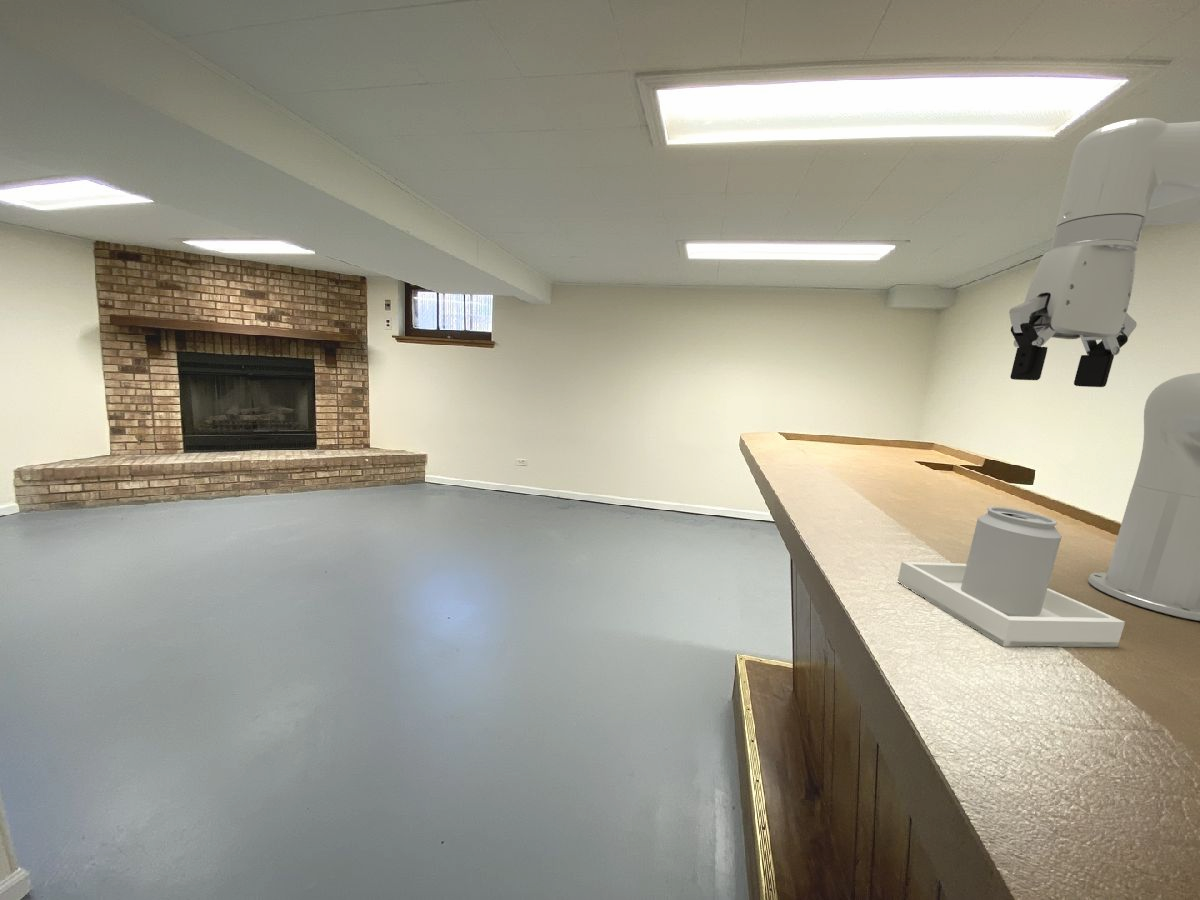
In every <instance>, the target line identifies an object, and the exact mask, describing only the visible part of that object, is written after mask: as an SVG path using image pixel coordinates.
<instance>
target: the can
mask: <svg viewBox="0 0 1200 900" xmlns="http://www.w3.org/2000/svg"><path fill="white" fill-rule="evenodd" d="M986 510H987V513H985V514H982V515H981V516H979V517H977V520H976V523H975V524H976V525H975V528H974V533H973V536H972V541H971V545H970V549H969V553H968V557H967V562H966V564H967V565H966V569H965V573H964V577H963V581H962V586H961V591H962V592H964V593H966V594H968V595H970V596H972V597H974V598H976V599H977V600H979V601H981V602H983V603H985V604H987V605H989V606H990V607H992V608H994V609H996V610H998V611H1000V612H1002V613H1004V614H1005V615H1007V616H1021V617H1033V616H1038V615H1039V614H1040V613H1041V610H1042V606H1043V602H1044V599H1045V595H1046V592H1047V588H1049V584H1050V580H1051V578H1052V573H1053V570H1054V566H1055V562H1056V559H1057V555H1058V552H1059V548H1060V545H1061V544H1060V543H1061V540H1062V534H1061V533H1060V532H1059V531H1058V529H1057V528H1056V525H1058V522H1057V521H1056V520H1055V519H1054V518H1051V517H1048V516H1045V515H1042V514H1038V513H1035V512H1031V511H1026V510H1022V509H1021V510H1020V509H1017V508H1016V509H1015V508H1010V507H1003V506H1002V507H1001V506H988V507H986Z"/></svg>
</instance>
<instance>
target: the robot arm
mask: <svg viewBox="0 0 1200 900" xmlns="http://www.w3.org/2000/svg"><path fill="white" fill-rule="evenodd" d="M1064 187H1065V188H1064V191H1063V195H1062V200H1061V203H1060V207H1059V208H1060V209H1059V210H1058V211H1059V212H1058V216H1057V220H1056V224H1055V227H1054V228H1055V229H1054V233H1053V235H1052V240H1051V245H1050V249H1049V250H1048V251H1046V252H1045V253H1044V254H1043V255H1042V257H1041V259H1040V261H1039V263H1038V265H1037V268H1036V270H1035V272H1034V275H1033V276H1032V279H1031V282H1030V285H1029V287H1028V290H1027V291H1026V292H1027V293H1026V294H1025V295H1026V296H1025V299H1024V302H1023V303H1020V304H1018V305H1016V306H1013V307H1011V308H1009V312H1008V313H1009V314H1008V315H1009V319H1010V325H1011V327H1010V332H1011V334H1012V337H1013V338H1014V340H1013V346H1014V347H1015V348H1017V349H1016V352H1015V356H1014V360H1013V364H1012V368H1011V373H1010V379H1011V380H1016V381H1017V380H1018V381H1019V380H1020V381H1039V380H1040V379H1041V378H1042V373H1043V369H1044V365H1045V360H1046V357H1047V353H1048V346H1043V345H1045V344H1046V343H1047V342H1048V341H1049V340H1050V339H1051V338H1055V339H1061V340H1062V339H1063V340H1078V339H1080V340H1081V342H1082V345H1083V348H1084V350H1085V352H1086V354H1082V355H1080V358H1079V363H1078V364H1077V365H1078V366H1077V370H1076V372H1075V377H1074V381H1073V385H1074V386H1075V387H1083V388H1084V387H1087V388H1089V387H1090V388H1104V387H1106V386H1107V383H1108V380H1109V375H1110V372H1111V370H1112V365H1113V361H1114V358H1115V356H1118V355H1119V354H1120V351H1121V348H1122V347H1123V346H1125V345H1126V343H1128V341H1129V337H1130V336H1131V335H1132V333H1133V331H1135V329H1136V327H1137V326H1138V325H1137V323H1138V322H1136V320H1135V319H1134V318H1133V317H1131V316H1130V315H1129V314H1128V309H1129V305H1130V300H1131V296H1132V291H1133V284H1134V278H1135V269H1136V258H1137V257H1136V255H1137V253H1135V252H1136V251H1137V250H1138V248H1139V244H1140V241H1141V237H1142V233H1143V229H1144V226H1152V225H1153V226H1154V225H1155V226H1157V225H1158V226H1159V225H1160V226H1161V225H1174V224H1177V225H1178V224H1187V223H1188V224H1190V223H1191V224H1192V223H1193V224H1194V223H1200V121H1198V120H1197V121H1189V122H1187V121H1185V122H1171V123H1170V122H1168V123H1167V122H1165V121H1163V120H1161V119H1158V118H1155V117H1139V118H1132V119H1125V120H1120V121H1116V122H1112V123H1110V124H1107V125H1105V126H1104V125H1103V126H1102V127H1099V128H1097V129H1094V130H1093V131H1091V132H1090V133H1088V134H1087V135H1085V136H1084V137H1083V138H1082V139H1081V140H1080V141H1079V142H1078V144H1077V145H1076V146H1075V149H1074V152H1073V156H1072V158H1071V162H1070V167H1069V171H1068V174H1067V179H1066V184H1065V186H1064ZM1097 341H1099V342H1098V343H1097ZM1124 510H1125V511H1124V514H1123V517H1122V520H1121V524H1120V528H1119V531H1118V534H1117V538H1116V542H1115V545H1114V548H1113V550H1112V551H1113V552H1112V555H1111V559H1110V562H1109V565H1108V567H1107V572H1100V571H1099V572H1092V573H1090V574H1089V576H1088V583H1089V584H1090V585H1091V586H1092V587H1094V588H1095V589H1097V590H1098V591H1101V592H1103V593H1105V594H1107V595H1109V596H1112V597H1113V598H1116V599H1119V600H1121V601H1125V602H1126V603H1129V604H1133V605H1135V606H1138V607H1142V608H1143V609H1148V610H1151V611H1154V612H1158V613H1161V614H1162V613H1163V614H1165V615H1170V616H1173V617H1178V618H1182V619H1186V620H1192V621H1198V622H1200V372H1195V373H1186V374H1183V375H1178V376H1175V377H1172V378H1170V379H1168V380H1165V381H1164V382H1161V383H1160V384H1159V385H1157V387H1155V388H1154V389H1153V390H1152V391H1151V393H1149V395H1148V397H1147V399H1146V401H1145V405H1144V410H1143V442H1142V450H1141V455H1140V460H1139V463H1138V467H1137V471H1136V474H1135V477H1134V481H1133V484H1132V487H1131V490H1130V494H1129V497H1128V501H1127V504H1126V507H1125V509H1124Z"/></svg>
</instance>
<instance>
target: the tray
mask: <svg viewBox="0 0 1200 900" xmlns="http://www.w3.org/2000/svg"><path fill="white" fill-rule="evenodd" d="M900 563H901V565H900V569H899V572H898V577H897V581H899V582H900V583H902V584H903V585H905V586H906V587H908V588H909V589H911V590H913V591H914V592H916V593H917V594H918V595H917V594H916V593H915V594H916V595H917V596H919V595H920V596H919V597H921V596H922V597H924V598H925V599H924V598H923V599H924V600H926V601H927V602H929V603H931V604H932V605H934V606H935V607H937V608H938V609H940V610H942V611H944V612H946V613H947V614H949V615H950V616H952V617H954V618H955V619H957V620H958V621H960V622H961V623H963V624H965V625H967V626H968V625H969V626H968V627H970V626H971V627H970V628H972V629H973V628H974V629H973V630H975V629H976V630H975V631H977V630H978V631H979V632H978V631H977V632H978V633H980V634H981V633H982V635H984V636H985V637H986V638H988V639H990V640H991V641H992V642H993V641H994V642H995V643H997V644H998V645H1000V646H1001V647H1003V648H1004V647H1007V648H1008V647H1011V648H1013V647H1022V648H1023V647H1025V646H1058V647H1057V648H1059V647H1060V648H1118V647H1119V644H1120V640H1121V637H1122V633H1123V631H1124V627H1125V625H1126V621H1124V620H1122V619H1119V618H1117V617H1114V616H1113V615H1110V614H1108V613H1105V612H1103V611H1102V610H1099V609H1096V608H1095V607H1092V606H1090V605H1087V604H1085V603H1083V602H1081V601H1078V600H1076V599H1074V598H1072V597H1069V596H1067V595H1064V594H1062V593H1060V592H1058V591H1056V590H1053V589H1051V588H1049V587H1048V588H1047V592H1046V595H1045V599H1044V602H1043V606H1042V610H1041V613H1040V614H1039V615H1038V616H1033V617H1021V616H1007V615H1005V614H1004V613H1002V612H1000V611H998V610H996V609H994V608H992V607H990V606H989V605H987V604H985V603H983V602H981V601H979V600H977V599H976V598H974V597H972V596H970V595H968V594H966V593H964V592H962V591H961V586H962V581H963V577H964V573H965V569H966V565H967V563H954V562H953V563H952V562H925V561H924V562H923V561H922V562H921V561H901V562H900ZM906 587H905V588H906ZM909 589H908V590H909ZM911 590H910V591H911ZM914 592H913V593H914ZM922 597H921V598H922Z"/></svg>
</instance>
